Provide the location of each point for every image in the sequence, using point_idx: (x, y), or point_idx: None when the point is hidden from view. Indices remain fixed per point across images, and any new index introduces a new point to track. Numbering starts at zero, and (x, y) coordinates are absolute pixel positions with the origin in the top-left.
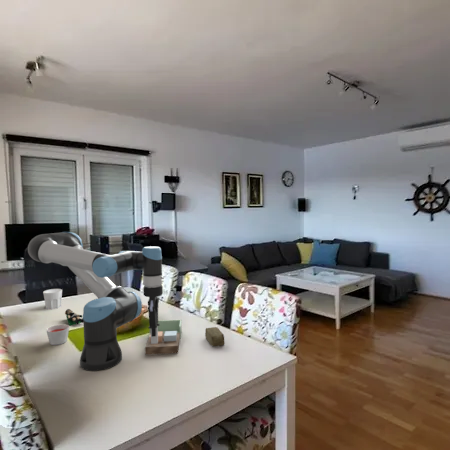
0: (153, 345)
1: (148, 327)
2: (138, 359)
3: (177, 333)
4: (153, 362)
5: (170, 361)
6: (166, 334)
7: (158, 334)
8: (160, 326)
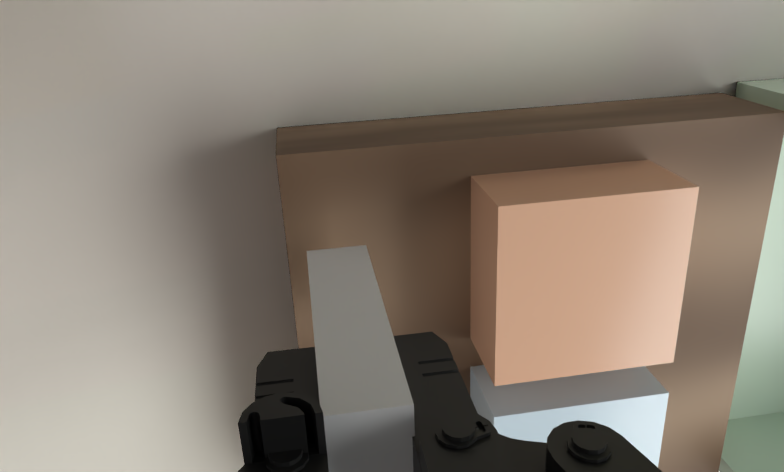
0: None
1: (240, 422)
2: (124, 65)
3: (697, 458)
4: (58, 280)
5: (107, 447)
6: (539, 436)
7: (559, 329)
8: None
